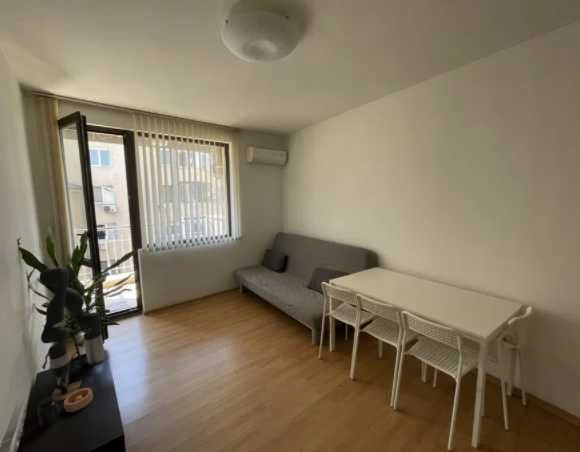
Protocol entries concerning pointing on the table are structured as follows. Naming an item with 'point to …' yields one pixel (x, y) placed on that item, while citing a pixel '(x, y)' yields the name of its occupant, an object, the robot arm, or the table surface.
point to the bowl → (74, 406)
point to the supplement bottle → (48, 412)
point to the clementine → (78, 398)
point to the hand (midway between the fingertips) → (65, 391)
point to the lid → (72, 388)
